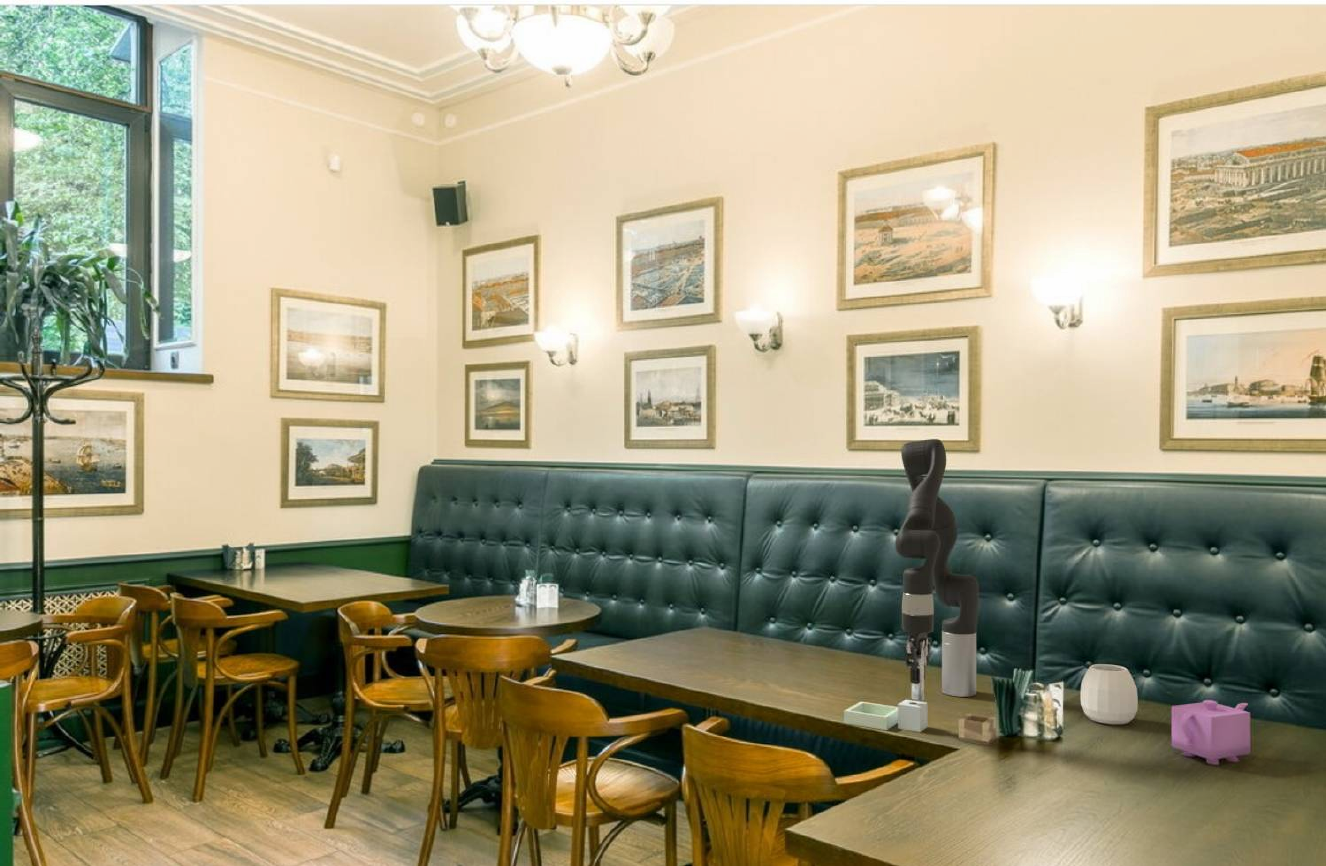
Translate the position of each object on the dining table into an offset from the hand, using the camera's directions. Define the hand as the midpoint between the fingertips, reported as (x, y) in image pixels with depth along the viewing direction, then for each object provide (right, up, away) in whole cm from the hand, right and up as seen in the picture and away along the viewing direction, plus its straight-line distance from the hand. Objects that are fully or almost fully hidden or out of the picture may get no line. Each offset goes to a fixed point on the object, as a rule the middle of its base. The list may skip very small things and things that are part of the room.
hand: (917, 681), depth 244 cm
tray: (-10, -11, +6) cm, 16 cm away
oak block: (+12, -12, -9) cm, 19 cm away
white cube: (-1, -12, +1) cm, 12 cm away
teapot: (+61, -12, -21) cm, 66 cm away
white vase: (+50, -12, +8) cm, 52 cm away
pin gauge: (0, -4, 0) cm, 4 cm away
